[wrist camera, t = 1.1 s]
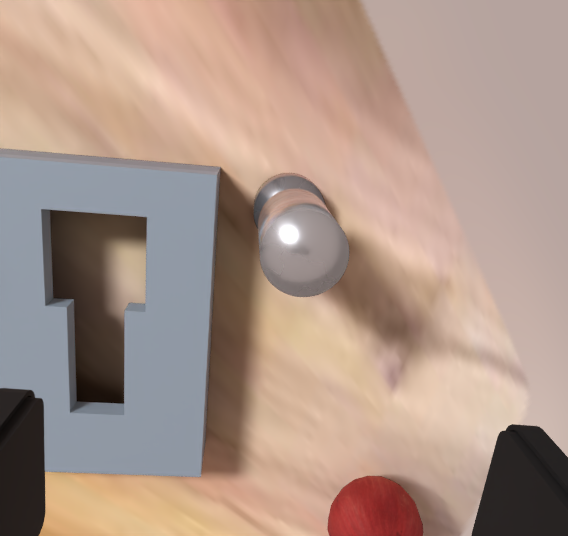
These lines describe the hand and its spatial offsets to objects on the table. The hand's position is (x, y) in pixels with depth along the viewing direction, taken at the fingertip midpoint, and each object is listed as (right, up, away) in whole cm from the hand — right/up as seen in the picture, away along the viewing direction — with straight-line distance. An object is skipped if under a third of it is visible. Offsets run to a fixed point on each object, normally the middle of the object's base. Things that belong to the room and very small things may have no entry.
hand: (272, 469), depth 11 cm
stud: (0, +8, +20) cm, 21 cm away
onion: (+6, -11, +26) cm, 29 cm away
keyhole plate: (-10, +2, +21) cm, 23 cm away
